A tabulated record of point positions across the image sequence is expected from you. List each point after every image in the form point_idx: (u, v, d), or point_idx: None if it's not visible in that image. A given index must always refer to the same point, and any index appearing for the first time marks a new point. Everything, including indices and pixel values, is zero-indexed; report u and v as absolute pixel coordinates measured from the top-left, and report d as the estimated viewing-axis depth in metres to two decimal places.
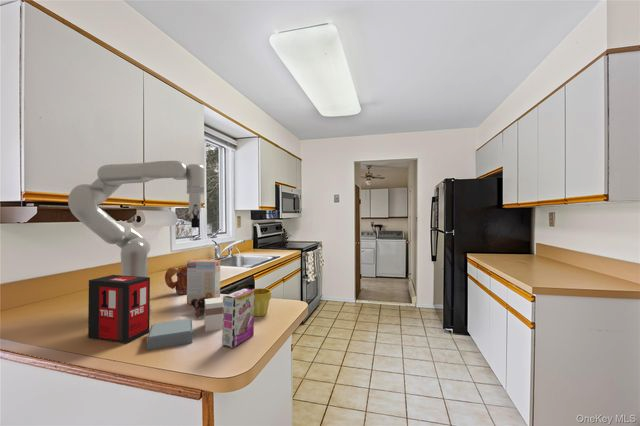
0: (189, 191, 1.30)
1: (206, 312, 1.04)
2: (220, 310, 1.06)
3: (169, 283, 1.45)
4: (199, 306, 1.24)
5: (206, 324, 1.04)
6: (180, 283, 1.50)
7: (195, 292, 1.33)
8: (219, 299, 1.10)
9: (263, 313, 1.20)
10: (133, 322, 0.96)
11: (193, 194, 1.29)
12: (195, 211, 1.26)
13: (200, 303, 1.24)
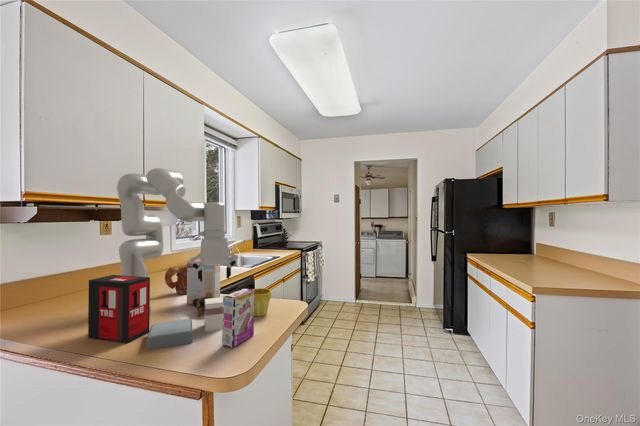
0: (222, 236, 1.07)
1: (206, 312, 1.04)
2: (220, 310, 1.06)
3: (169, 283, 1.45)
4: (201, 306, 1.25)
5: (206, 324, 1.04)
6: (180, 283, 1.50)
7: (195, 292, 1.33)
8: (219, 299, 1.10)
9: (263, 313, 1.20)
10: (133, 322, 0.96)
11: None
12: (237, 258, 1.12)
13: (202, 303, 1.25)
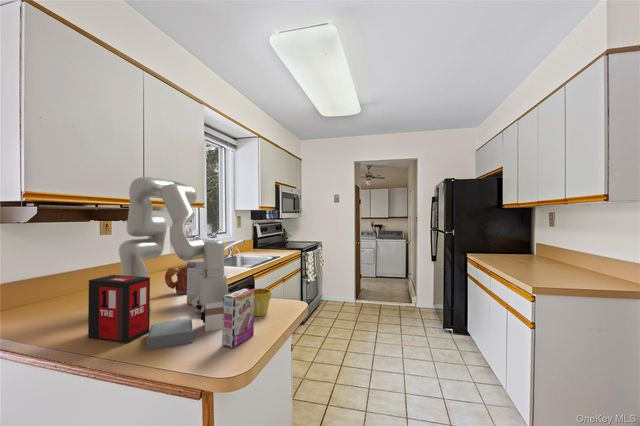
0: (221, 275, 1.07)
1: (206, 312, 1.04)
2: (220, 310, 1.06)
3: (169, 283, 1.45)
4: None
5: (206, 324, 1.04)
6: (180, 283, 1.50)
7: (195, 292, 1.33)
8: None
9: (263, 313, 1.20)
10: (133, 322, 0.96)
11: (226, 277, 1.09)
12: None
13: None
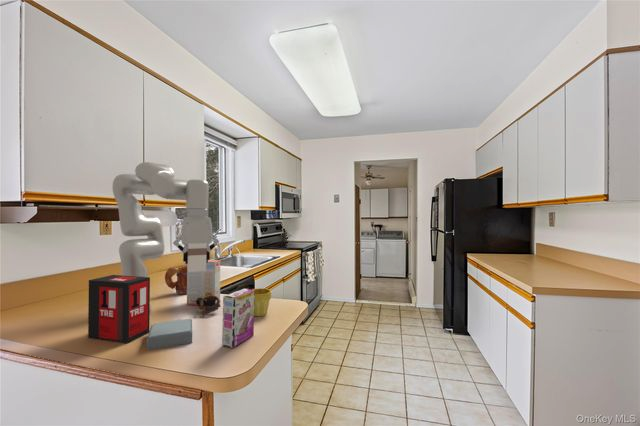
0: (205, 215, 1.03)
1: (189, 252, 0.99)
2: (204, 251, 1.02)
3: (169, 283, 1.45)
4: (204, 305, 1.26)
5: (188, 264, 0.99)
6: (180, 283, 1.50)
7: (195, 292, 1.33)
8: None
9: (263, 313, 1.20)
10: (133, 322, 0.96)
11: (210, 218, 1.05)
12: (217, 243, 1.07)
13: (205, 302, 1.26)
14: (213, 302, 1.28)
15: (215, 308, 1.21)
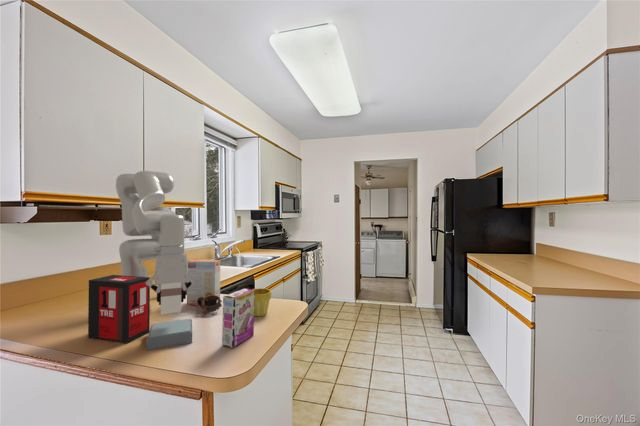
0: (180, 252, 0.97)
1: (162, 293, 0.93)
2: (178, 291, 0.96)
3: None
4: (205, 304, 1.27)
5: (162, 306, 0.93)
6: None
7: (195, 292, 1.33)
8: None
9: (263, 313, 1.20)
10: (133, 322, 0.96)
11: (186, 255, 0.99)
12: (194, 280, 1.01)
13: (206, 301, 1.27)
14: (214, 302, 1.28)
15: (216, 308, 1.21)
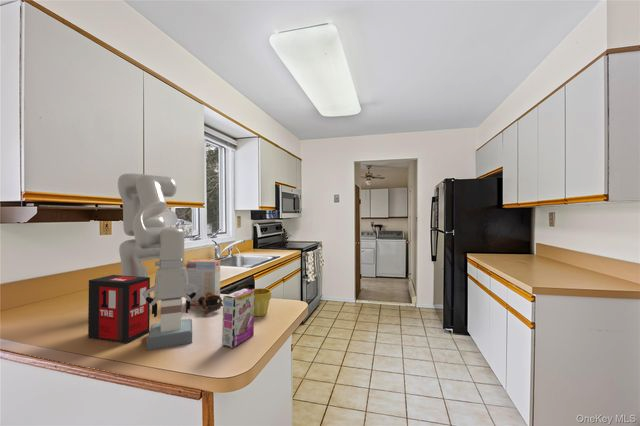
0: (180, 266, 0.97)
1: (161, 310, 0.93)
2: (178, 308, 0.96)
3: None
4: (206, 304, 1.27)
5: (161, 324, 0.93)
6: None
7: None
8: None
9: (263, 313, 1.20)
10: (133, 322, 0.96)
11: (186, 269, 0.99)
12: None
13: (207, 301, 1.27)
14: (215, 301, 1.29)
15: (218, 307, 1.22)
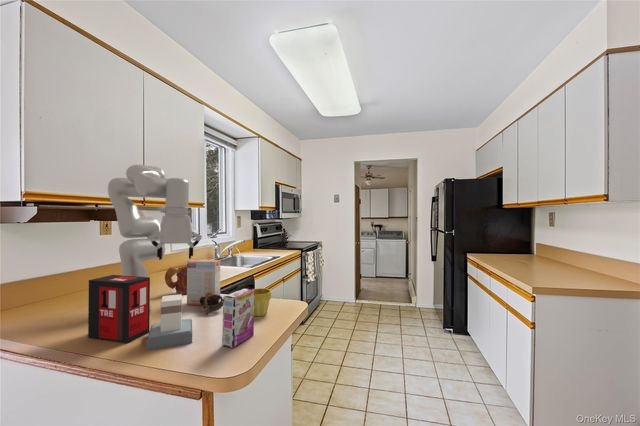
0: (184, 214, 1.03)
1: (161, 310, 0.93)
2: (178, 308, 0.96)
3: (169, 283, 1.45)
4: (207, 304, 1.28)
5: (161, 324, 0.93)
6: (180, 283, 1.50)
7: (195, 292, 1.33)
8: (178, 296, 0.99)
9: (263, 313, 1.20)
10: (133, 322, 0.96)
11: None
12: (200, 238, 1.07)
13: (208, 301, 1.28)
14: (216, 301, 1.30)
15: (219, 307, 1.23)
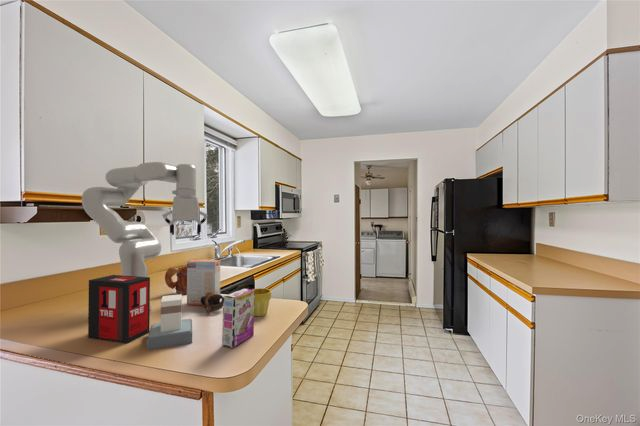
0: (193, 195, 1.18)
1: (161, 310, 0.93)
2: (178, 308, 0.96)
3: (169, 283, 1.45)
4: (208, 303, 1.28)
5: (161, 324, 0.93)
6: (180, 283, 1.50)
7: (195, 292, 1.33)
8: (178, 296, 0.99)
9: (263, 313, 1.20)
10: (133, 322, 0.96)
11: (197, 198, 1.21)
12: None
13: (209, 300, 1.28)
14: (217, 301, 1.30)
15: (220, 306, 1.23)
